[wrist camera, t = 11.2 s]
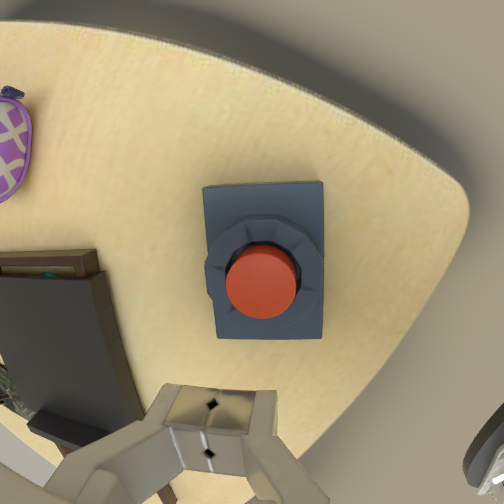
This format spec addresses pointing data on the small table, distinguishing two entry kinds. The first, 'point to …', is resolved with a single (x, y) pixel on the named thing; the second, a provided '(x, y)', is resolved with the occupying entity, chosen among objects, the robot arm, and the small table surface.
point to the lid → (66, 357)
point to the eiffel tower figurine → (12, 396)
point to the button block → (273, 234)
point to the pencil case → (13, 141)
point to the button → (261, 282)
